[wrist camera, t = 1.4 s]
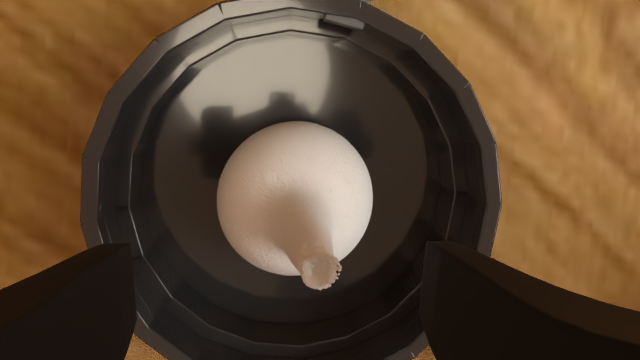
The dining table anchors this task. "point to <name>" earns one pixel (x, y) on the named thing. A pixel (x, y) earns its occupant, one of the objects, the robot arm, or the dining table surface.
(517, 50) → the dining table surface
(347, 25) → the pan handle
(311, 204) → the garlic bulb
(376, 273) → the pan
